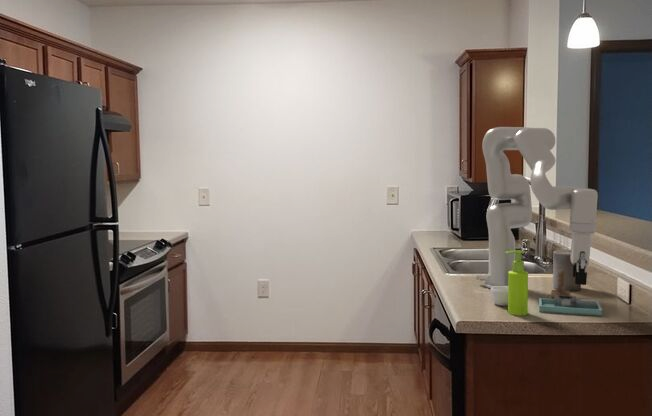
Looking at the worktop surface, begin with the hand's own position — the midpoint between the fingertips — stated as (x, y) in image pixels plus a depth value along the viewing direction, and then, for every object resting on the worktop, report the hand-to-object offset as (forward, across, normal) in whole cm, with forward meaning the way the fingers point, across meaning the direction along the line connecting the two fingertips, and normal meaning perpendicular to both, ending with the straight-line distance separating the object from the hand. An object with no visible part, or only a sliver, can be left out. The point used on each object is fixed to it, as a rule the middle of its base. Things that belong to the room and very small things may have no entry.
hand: (579, 280), depth 181 cm
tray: (+10, +1, -3) cm, 10 cm away
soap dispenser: (+10, +10, -18) cm, 23 cm away
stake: (+10, -9, -5) cm, 14 cm away
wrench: (+9, +1, -1) cm, 9 cm away
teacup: (+10, -1, -24) cm, 26 cm away
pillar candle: (+11, -30, -2) cm, 32 cm away
